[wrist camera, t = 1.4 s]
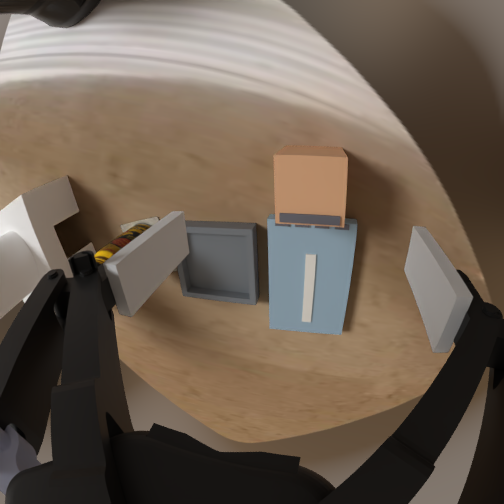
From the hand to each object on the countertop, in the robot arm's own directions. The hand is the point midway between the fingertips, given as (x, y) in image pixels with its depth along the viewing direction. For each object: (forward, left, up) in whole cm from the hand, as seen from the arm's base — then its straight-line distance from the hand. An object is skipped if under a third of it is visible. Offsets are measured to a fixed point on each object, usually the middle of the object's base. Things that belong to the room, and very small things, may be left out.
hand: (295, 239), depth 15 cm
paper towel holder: (+9, -45, -17) cm, 49 cm away
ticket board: (+13, 0, -17) cm, 21 cm away
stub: (0, 0, -17) cm, 17 cm away
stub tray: (+11, -12, -17) cm, 23 cm away
